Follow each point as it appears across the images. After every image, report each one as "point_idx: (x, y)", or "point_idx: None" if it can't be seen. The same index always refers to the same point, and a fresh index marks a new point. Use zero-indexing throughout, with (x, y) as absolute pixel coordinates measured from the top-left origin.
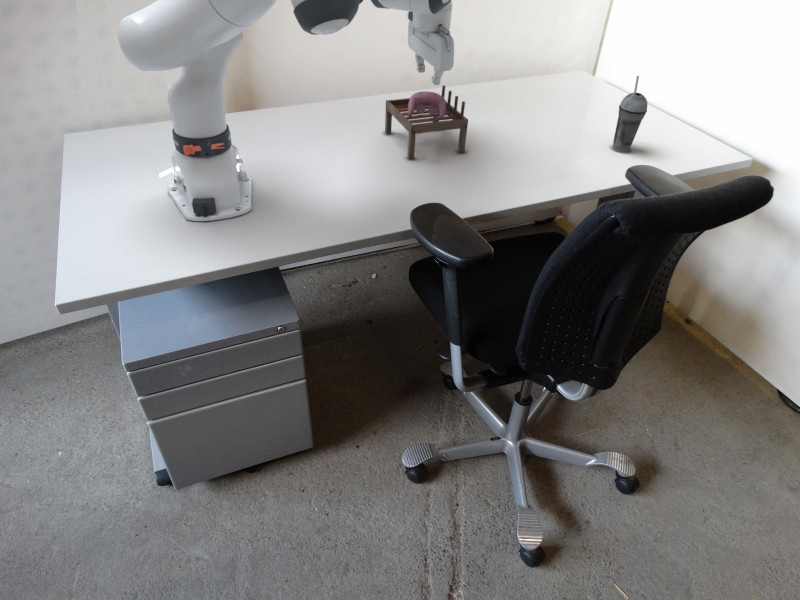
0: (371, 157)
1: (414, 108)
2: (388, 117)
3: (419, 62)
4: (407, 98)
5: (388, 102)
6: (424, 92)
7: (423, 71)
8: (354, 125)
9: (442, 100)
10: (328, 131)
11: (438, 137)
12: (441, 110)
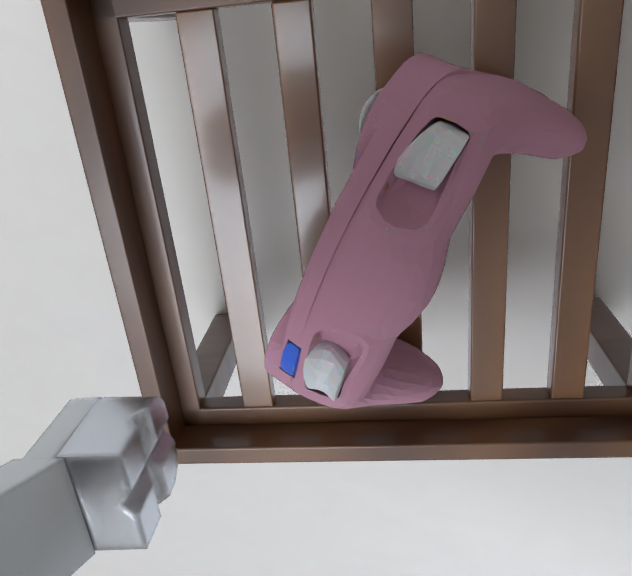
0: (496, 473)
1: (249, 269)
2: (223, 388)
3: (56, 551)
4: (123, 308)
5: (202, 461)
6: (373, 328)
7: (162, 413)
8: None
9: (502, 130)
10: (178, 554)
11: (335, 33)
12: (562, 149)
